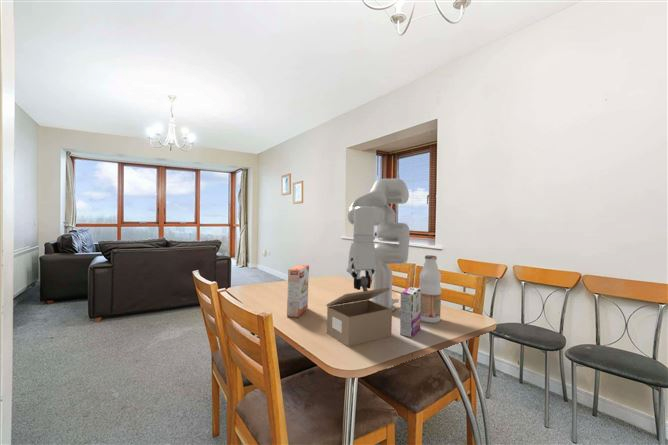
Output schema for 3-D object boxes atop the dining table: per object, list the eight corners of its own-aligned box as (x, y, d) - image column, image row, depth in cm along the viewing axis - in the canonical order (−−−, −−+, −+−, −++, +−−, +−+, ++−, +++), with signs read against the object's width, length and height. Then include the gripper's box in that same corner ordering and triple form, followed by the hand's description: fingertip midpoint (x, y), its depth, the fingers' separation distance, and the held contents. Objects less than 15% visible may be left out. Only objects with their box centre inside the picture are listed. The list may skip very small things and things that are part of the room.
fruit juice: (417, 321, 130) (419, 256, 129) (417, 314, 139) (419, 254, 138) (441, 324, 127) (443, 258, 127) (439, 317, 136) (441, 255, 136)
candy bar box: (408, 326, 124) (409, 286, 124) (420, 328, 122) (421, 288, 121) (399, 335, 115) (400, 292, 114) (412, 338, 112) (413, 294, 112)
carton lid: (368, 299, 126) (364, 283, 129) (390, 289, 115) (384, 272, 118) (326, 306, 115) (322, 289, 118) (346, 296, 104) (341, 277, 107)
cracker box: (299, 318, 131) (300, 270, 131) (286, 316, 132) (287, 269, 132) (308, 308, 145) (309, 264, 144) (296, 307, 146) (297, 264, 145)
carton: (367, 323, 126) (368, 299, 126) (391, 335, 114) (392, 309, 114) (326, 333, 115) (326, 306, 115) (347, 347, 103) (348, 317, 103)
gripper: (373, 238, 121) (372, 284, 121) (339, 239, 111) (337, 288, 112) (387, 239, 114) (385, 288, 115) (351, 240, 105) (350, 293, 105)
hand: (362, 287), depth 113 cm, fingers closed on carton lid, 4 cm apart
